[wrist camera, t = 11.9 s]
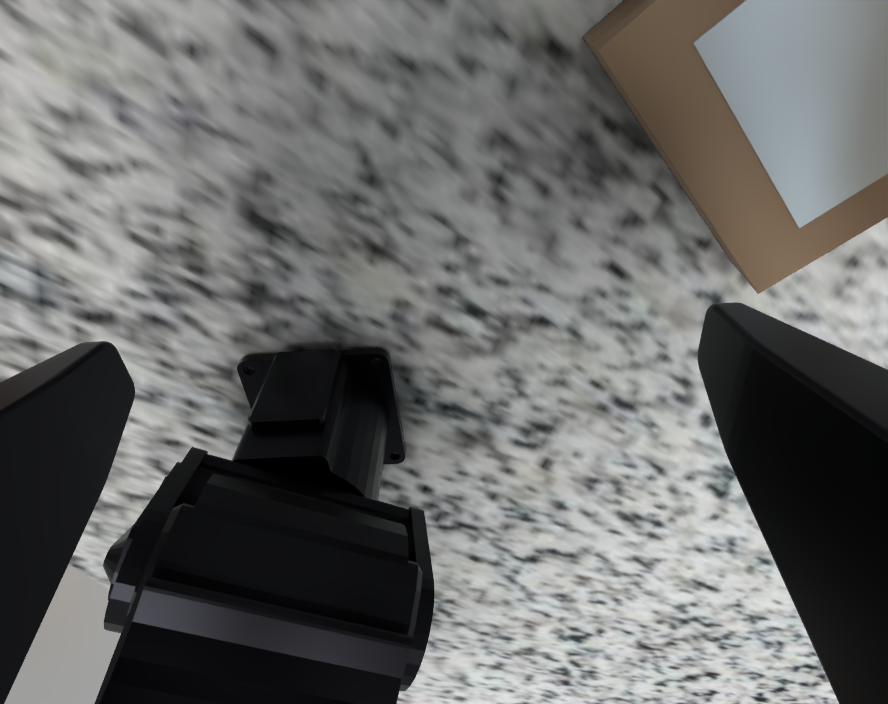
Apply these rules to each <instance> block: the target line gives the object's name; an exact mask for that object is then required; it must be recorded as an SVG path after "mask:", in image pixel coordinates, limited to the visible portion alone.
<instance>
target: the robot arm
mask: <svg viewBox="0 0 888 704" xmlns="http://www.w3.org/2000/svg"><path fill="white" fill-rule="evenodd" d="M375 358H378V359H380V360H382V362H375V361H373V359H375ZM698 365H699V369H700V372H701V375H702V379H703V382H704V385H705V388H706V392H707V395H708V398H709V401H710V405H711V408H712V411H713V414H714V418H715V421H716V424H717V427H718V431H719V434H720V437H721V440H722V443H723V446H724V449H725V452H726V454H727V457H728V459H729V461H730V464H731V466H732V468H733V470H734V473H735V475H736V477H737V479H738V482H739V484H740V486H741V488H742V490H743V493H744V495H745V497H746V499H747V501H748V504H749V506H750V508H751V510H752V512H753V515H754V517H755V519H756V521H757V523H758V526H759V528H760V530H761V532H762V534H763V537H764V539H765V541H766V543H767V545H768V548H769V550H770V552H771V554H772V556H773V559H774V561H775V563H776V565H777V567H778V570H779V572H780V574H781V576H782V578H783V581H784V583H785V585H786V587H787V589H788V592H789V594H790V596H791V598H792V601H793V603H794V605H795V607H796V609H797V612H798V614H799V616H800V618H801V620H802V623H803V625H804V627H805V629H806V631H807V634H808V636H809V638H810V640H811V642H812V645H813V647H814V649H815V651H816V653H817V656H818V658H819V660H820V662H821V664H822V667H823V669H824V671H825V673H826V675H827V678H828V680H829V682H830V684H831V686H832V689H833V691H834V693H835V695H836V697H837V700H838V702H839V704H888V370H887V369H885V368H883V367H880V366H878V365H876V364H874V363H872V362H869V361H867V360H865V359H863V358H861V357H858V356H856V355H854V354H852V353H850V352H847V351H845V350H843V349H841V348H839V347H836V346H834V345H832V344H830V343H828V342H825V341H823V340H821V339H819V338H817V337H815V336H812V335H810V334H808V333H806V332H804V331H801V330H799V329H797V328H795V327H793V326H790V325H788V324H786V323H784V322H782V321H779V320H777V319H775V318H773V317H771V316H768V315H766V314H764V313H762V312H760V311H757V310H755V309H753V308H751V307H749V306H746V305H744V304H742V303H721V304H713V305H711V306H710V307H709V308H708V310H707V312H706V315H705V319H704V324H703V329H702V334H701V339H700V344H699V349H698ZM247 366H251V367H253V368H254V370H251V369H249V368H247ZM237 370H238V374H239V376H240V379H241V382H242V385H243V387H244V390H245V393H246V396H247V398H248V401H249V404H250V407H251V412H250V414H249V416H248V421H249V422H248V424H247V426H246V429H245V431H244V433H243V436H242V438H241V440H240V443H239V445H238V447H237V449H236V452H235V454H234V456H233V459H232V461H231V460H227V459H223V458H220V457H216V456H212V455H209V454H207V452H208V451H205V450H201V449H198V448H194V447H192V448H191V449H190V451H189V452H188V454H187V455H186V457H185V458H184V460H183V461H182V462H181V463H180V462H177V463H176V465H175V466H174V468H173V469H172V471H171V472H170V473H169V475H168V476H167V477H165V479H164V481H163V482H162V484H161V486H160V488H159V489H158V491H157V492H156V494H155V495H154V497H153V498H152V499H151V501H150V502H149V504H148V505H147V507H146V508H145V510H144V511H143V512H142V514H141V515H140V517H139V518H138V520H137V521H136V522H135V524H134V525H133V526H132V527H131V528H130V529H129V530H128V531H127V532H126V533H125V534H124V535H123V536H122V537H120V538H119V539H118V540H117V541H116V542H115V543H114V544H113V545H112V546H111V548H110V549H109V551H108V553H107V555H106V558H105V560H104V564H103V567H104V569H105V572H106V574H107V576H108V578H109V580H110V583H111V586H110V590H109V595H108V601H109V602H108V606H107V609H106V614H105V619H104V629H105V630H108V631H113V632H118V633H121V636H120V638H119V641H118V643H117V646H116V649H115V651H114V654H113V657H112V659H111V662H110V664H109V667H108V670H107V673H106V675H105V678H104V680H103V683H102V686H101V688H100V691H99V694H98V696H97V699H96V702H95V704H396V702H397V698H398V694H399V691H405V690H406V689H408V688H409V687H410V685H411V684H412V682H413V680H414V679H415V677H416V675H417V672H418V670H419V668H420V665H421V662H422V659H423V656H424V653H425V650H426V646H427V642H428V638H429V633H430V628H431V622H432V616H433V607H434V579H433V572H432V565H431V558H430V551H429V544H428V536H427V529H426V522H425V515H424V511H423V510H420V509H416V508H413V507H410V508H409V509H406V508H403V507H399V506H395V505H392V504H388V503H384V502H381V501H378V496H379V489H380V482H381V475H382V468H383V464H398V463H401V462H403V461H404V459H405V452H406V449H405V443H404V437H403V431H402V425H401V420H400V414H399V408H398V402H397V396H396V391H395V385H394V379H393V373H392V367H391V362H390V356H389V354H388V353H387V352H386V351H385V350H383V349H381V348H368V349H351V350H334V349H331V350H314V351H298V352H281V353H278V354H267V355H251V356H245V357H243V358H242V359H241V361H240V363H239V365H238V367H237ZM134 397H135V387H134V383H133V381H132V378H131V376H130V374H129V372H128V370H127V368H126V366H125V364H124V362H123V360H122V358H121V356H120V354H119V352H118V350H117V349H116V347H115V346H114V345H113V344H111V343H109V342H106V341H101V342H85V343H81V344H78V345H76V346H74V347H72V348H70V349H68V350H66V351H64V352H62V353H60V354H58V355H56V356H54V357H52V358H49V359H47V360H45V361H43V362H41V363H39V364H37V365H35V366H33V367H31V368H29V369H27V370H25V371H23V372H21V373H19V374H17V375H15V376H13V377H11V378H9V379H6V380H4V381H2V382H0V704H4V703H5V700H6V698H7V696H8V694H9V691H10V690H11V687H12V685H13V683H14V681H15V679H16V676H17V674H18V672H19V670H20V668H21V666H22V663H23V661H24V659H25V657H26V654H27V653H28V650H29V648H30V646H31V644H32V642H33V640H34V637H35V635H36V633H37V631H38V629H39V627H40V624H41V622H42V620H43V618H44V616H45V614H46V611H47V609H48V607H49V605H50V603H51V601H52V598H53V596H54V594H55V592H56V590H57V588H58V585H59V583H60V581H61V578H62V577H63V574H64V572H65V570H66V568H67V566H68V564H69V562H70V559H71V557H72V555H73V553H74V551H75V549H76V546H77V544H78V542H79V540H80V538H81V536H82V533H83V531H84V529H85V527H86V525H87V522H88V520H89V518H90V516H91V514H92V512H93V509H94V507H95V505H96V503H97V501H98V499H99V496H100V494H101V492H102V490H103V487H104V485H105V483H106V480H107V478H108V475H109V472H110V469H111V467H112V464H113V461H114V458H115V455H116V452H117V449H118V446H119V443H120V440H121V437H122V434H123V431H124V428H125V425H126V422H127V419H128V416H129V413H130V410H131V407H132V404H133V401H134ZM393 453H398V454H393Z"/></svg>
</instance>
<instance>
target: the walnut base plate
mask: <svg viewBox="0 0 888 704" xmlns="http://www.w3.org/2000/svg"><path fill="white" fill-rule="evenodd" d="M582 38H583V39H584V41H585V42H586V44H587V45H588V47H589V48H590V50H591V51H592V53H593V54H594V56H595V57H596V59H597V60H598V62H599V63H600V65H601V66H602V68H603V69H604V71H605V72H606V74H607V76H608V77H609V79H610V80H611V82H612V83H613V85H614V86H615V88H616V89H617V91H618V92H619V94H620V95H621V97H622V98H623V100H624V101H625V103H626V104H627V106H628V107H629V109H630V110H631V112H632V113H633V115H634V116H635V118H636V119H637V121H638V122H639V124H640V125H641V127H642V128H643V130H644V131H645V133H646V134H647V136H648V137H649V139H650V140H651V142H652V143H653V145H654V146H655V148H656V149H657V151H658V152H659V154H660V155H661V157H662V158H663V160H664V161H665V163H666V164H667V166H668V167H669V169H670V170H671V172H672V173H673V175H674V176H675V178H676V179H677V181H678V182H679V184H680V185H681V187H682V188H683V190H684V191H685V193H686V194H687V196H688V197H689V199H690V200H691V202H692V203H693V205H694V207H695V208H696V210H697V211H698V213H699V214H700V216H701V217H702V219H703V220H704V222H705V223H706V225H707V226H708V228H709V229H710V231H711V232H712V234H713V235H714V237H715V238H716V240H717V241H718V243H719V244H720V246H721V247H722V249H723V250H724V252H725V253H726V255H727V256H728V258H729V259H730V261H731V262H732V263H733V264H734V266H735V267H736V268H737V269H738V270H739V272H740V273H741V274H742V275H743V276H744V278H745V279H746V280H747V281H748V282H749V284H750V285H751V286H752V287H753V288H754V290H755V291H756V292H757V293H758V294H759V293H760V292H762V291H764V290H765V289H767V288H769V287H770V286H772V285H774V284H775V283H777V282H779V281H781V280H782V279H784V278H786V277H787V276H789V275H791V274H792V273H794V272H796V271H797V270H799V269H801V268H802V267H804V266H806V265H808V264H809V263H811V262H813V261H814V260H816V259H818V258H819V257H821V256H823V255H824V254H826V253H828V252H829V251H831V250H833V249H835V248H836V247H838V246H840V245H841V244H843V243H845V242H846V241H848V240H850V239H851V238H853V237H855V236H856V235H858V234H860V233H862V232H863V231H865V230H867V229H868V228H870V227H872V226H873V225H875V224H877V223H878V222H880V221H882V220H883V219H885V218H887V217H888V0H624V1H623V2H622V3H620V4H619V5H618V6H617V7H616V8H615V9H614V10H613V11H611V12H610V13H609V14H608V15H607V16H606V17H605V18H603V19H602V20H601V21H600V22H599V23H598V24H597V25H596V26H594V27H593V28H592V29H591V30H590V31H589V32H588V33H586V34H585V35H584V36H583V37H582Z"/></svg>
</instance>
